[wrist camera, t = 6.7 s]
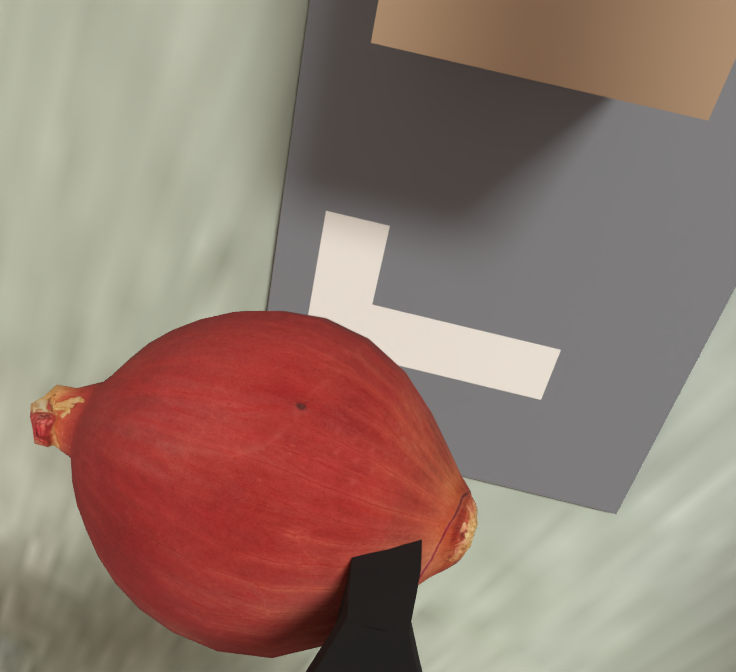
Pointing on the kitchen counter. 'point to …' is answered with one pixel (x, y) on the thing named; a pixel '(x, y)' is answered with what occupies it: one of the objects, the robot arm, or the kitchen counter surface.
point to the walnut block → (580, 44)
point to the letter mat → (508, 250)
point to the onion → (255, 475)
